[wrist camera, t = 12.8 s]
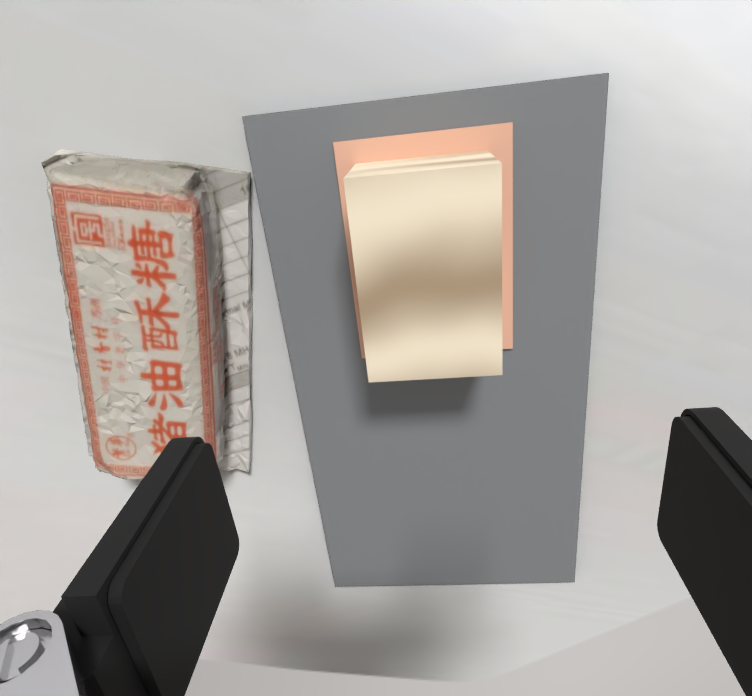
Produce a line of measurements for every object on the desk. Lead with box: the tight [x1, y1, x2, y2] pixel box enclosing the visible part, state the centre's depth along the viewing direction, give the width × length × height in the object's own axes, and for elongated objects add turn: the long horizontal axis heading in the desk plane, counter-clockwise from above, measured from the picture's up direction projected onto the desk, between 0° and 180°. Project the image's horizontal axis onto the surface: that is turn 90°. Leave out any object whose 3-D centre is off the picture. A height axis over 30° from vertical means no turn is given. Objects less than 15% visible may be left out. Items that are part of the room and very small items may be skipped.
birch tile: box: [343, 151, 503, 382], centre depth 24 cm, size 9×6×4 cm, turn 6°
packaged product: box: [42, 149, 253, 479], centre depth 28 cm, size 18×5×10 cm
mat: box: [242, 73, 609, 587], centre depth 30 cm, size 16×30×1 cm, turn 6°
